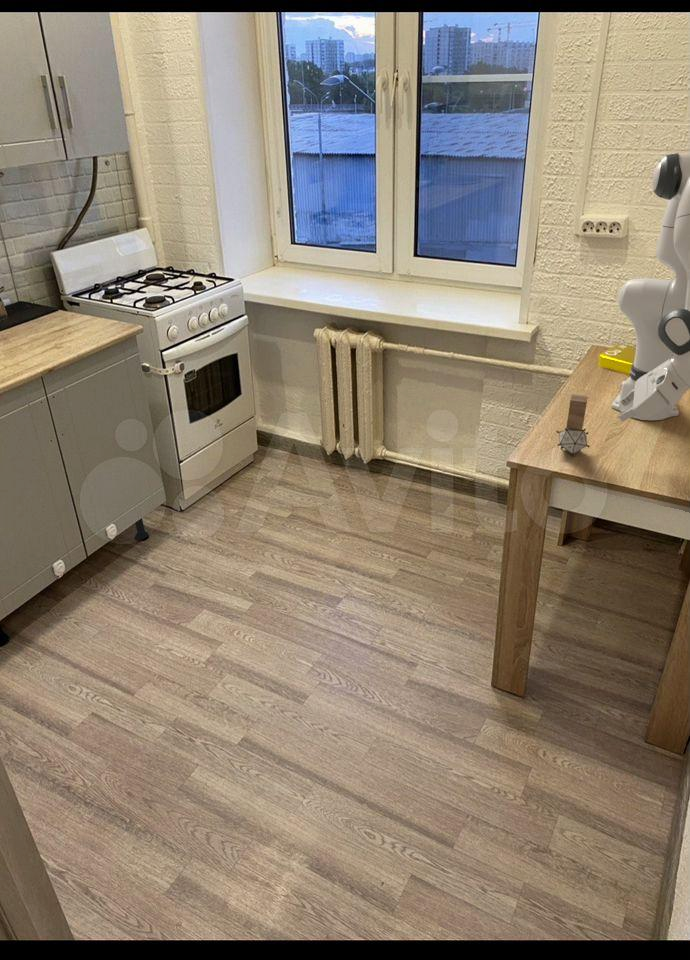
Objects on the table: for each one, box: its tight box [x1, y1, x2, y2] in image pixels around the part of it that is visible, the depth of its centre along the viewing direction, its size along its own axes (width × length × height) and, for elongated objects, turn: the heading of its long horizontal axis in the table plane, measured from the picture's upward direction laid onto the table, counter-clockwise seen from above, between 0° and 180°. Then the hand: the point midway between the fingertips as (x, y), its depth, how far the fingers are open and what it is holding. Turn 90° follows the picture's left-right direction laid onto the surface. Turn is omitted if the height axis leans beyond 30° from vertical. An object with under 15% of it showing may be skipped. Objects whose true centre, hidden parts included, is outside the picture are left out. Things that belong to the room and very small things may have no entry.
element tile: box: [597, 344, 636, 376], centre depth 244 cm, size 15×15×5 cm
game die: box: [556, 427, 591, 458], centre depth 190 cm, size 9×8×10 cm
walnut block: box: [565, 394, 589, 430], centre depth 186 cm, size 4×4×8 cm
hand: (621, 410), depth 182 cm, fingers open, 8 cm apart
